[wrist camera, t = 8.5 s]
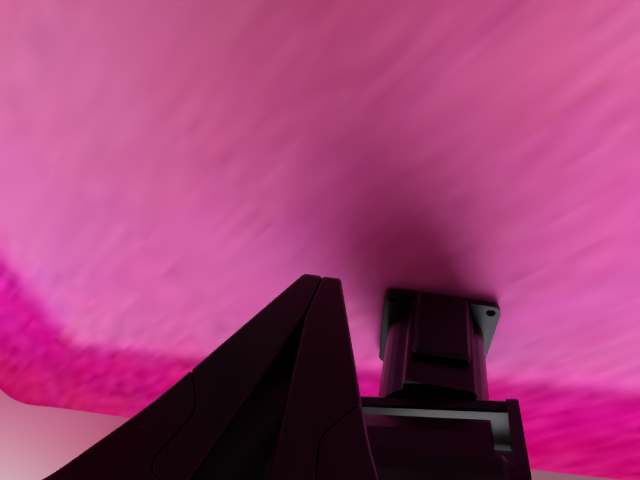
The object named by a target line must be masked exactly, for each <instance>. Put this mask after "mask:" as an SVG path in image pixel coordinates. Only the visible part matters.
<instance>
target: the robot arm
mask: <svg viewBox="0 0 640 480" xmlns="http://www.w3.org/2000/svg"><path fill="white" fill-rule="evenodd" d="M391 296H395V297H391ZM488 310H493V311H488ZM499 317H500V307H499V305H498V304H496V303H494V302H489V301H482V300H475V299H467V298H460V297H453V296H446V295H439V294H432V293H424V292H417V291H410V290H403V289H396V288H390V289H387V290H386V292H385V296H384V306H383V318H382V329H381V341H380V352H379V357H380V359H381V360H382V361H383V367H382V374H381V381H380V388H379V395H378V397H368V396H360V391H359V385H358V379H357V373H356V367H355V361H354V355H353V349H352V343H351V337H350V331H349V325H348V319H347V313H346V307H345V301H344V296H343V290H342V284H341V280H340V279H338V278H331V277H323V278H322V277H320V276H317V275H310V274H304V275H302V276H301V277H300V278H299V279H297V280H296V281H295V282H294V283H293V284H292V285H290V286H289V287H288V288H287V289H286V290H285V291H283V292H282V293H281V294H280V295H279V296H278V297H276V298H275V299H274V300H273V301H272V302H271V303H269V304H268V305H267V306H266V307H265V308H264V309H262V310H261V311H260V312H259V313H258V314H257V315H255V316H254V317H253V318H252V319H251V320H250V321H248V322H247V323H246V324H245V325H244V326H243V327H241V328H240V329H239V330H238V331H237V332H236V333H234V334H233V335H232V336H231V337H230V338H229V339H227V340H226V341H225V342H224V343H223V344H222V345H220V346H219V347H218V348H217V349H216V350H215V351H213V352H212V353H211V354H210V355H209V356H208V357H206V358H205V359H204V360H203V361H202V362H201V363H199V364H198V365H197V366H196V367H195V368H194V369H193V370H192V372H189V373H187V374H186V375H185V376H184V377H183V378H182V379H180V380H179V381H178V382H177V383H176V384H175V385H173V386H172V387H171V388H170V389H168V390H167V391H166V392H165V393H164V394H162V395H161V396H160V397H159V398H157V399H156V400H155V401H154V402H152V403H151V404H150V405H148V406H147V407H146V408H144V409H143V410H142V411H140V412H139V413H138V414H136V415H135V416H134V417H132V418H131V419H130V420H128V421H127V422H125V423H124V424H123V425H121V426H120V427H119V428H117V429H116V430H114V431H113V432H111V433H110V434H109V435H107V436H106V437H104V438H103V439H102V440H100V441H99V442H97V443H96V444H94V445H93V446H92V447H90V448H89V449H87V450H86V451H85V452H83V453H82V454H80V455H79V456H78V457H77V458H75V459H73V460H72V461H71V462H69V463H68V464H66V465H65V466H63V467H62V468H60V469H59V470H57V471H56V472H54V473H53V474H51V475H49V476H48V477H46V478H44V479H43V480H532V479H531V472H530V466H529V460H528V454H527V448H526V443H525V437H524V431H523V425H522V419H521V413H520V408H519V402H518V399H506V401H492V400H489V395H488V383H487V372H486V360H485V359H486V356H487V353H488V350H489V347H490V344H491V341H492V338H493V335H494V332H495V329H496V326H497V323H498V320H499Z"/></svg>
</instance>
